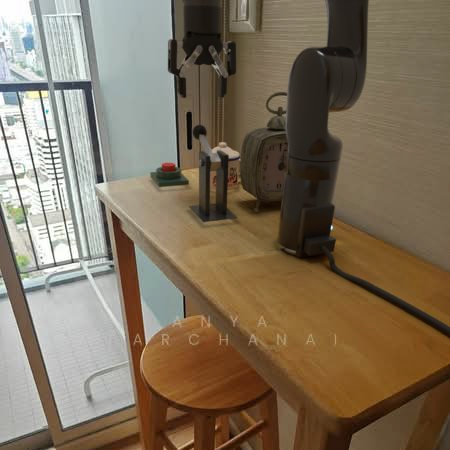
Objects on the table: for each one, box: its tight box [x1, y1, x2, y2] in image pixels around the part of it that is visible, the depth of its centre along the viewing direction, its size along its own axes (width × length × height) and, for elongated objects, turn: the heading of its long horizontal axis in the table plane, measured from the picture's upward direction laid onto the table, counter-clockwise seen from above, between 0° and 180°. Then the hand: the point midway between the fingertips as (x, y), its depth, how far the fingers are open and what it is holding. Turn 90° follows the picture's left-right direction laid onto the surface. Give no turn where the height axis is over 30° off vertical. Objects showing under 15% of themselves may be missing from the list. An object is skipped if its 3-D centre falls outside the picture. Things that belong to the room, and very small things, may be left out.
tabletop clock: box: [239, 91, 288, 213], centre depth 91 cm, size 14×9×25 cm, turn 114°
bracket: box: [188, 150, 238, 223], centre depth 88 cm, size 10×8×14 cm
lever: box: [191, 124, 221, 171], centre depth 88 cm, size 13×3×3 cm, turn 21°
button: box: [161, 162, 177, 172], centre depth 109 cm, size 4×4×2 cm
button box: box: [149, 166, 190, 188], centre depth 110 cm, size 10×8×4 cm
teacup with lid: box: [210, 141, 241, 190], centre depth 107 cm, size 12×9×12 cm
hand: (202, 97), depth 88 cm, fingers open, 8 cm apart
